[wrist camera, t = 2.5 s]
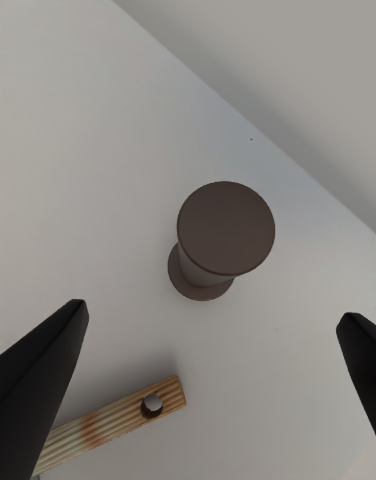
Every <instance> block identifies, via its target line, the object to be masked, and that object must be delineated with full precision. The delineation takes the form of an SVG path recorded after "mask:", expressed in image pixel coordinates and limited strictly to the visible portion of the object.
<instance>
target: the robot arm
mask: <svg viewBox="0 0 376 480" xmlns="http://www.w3.org/2000/svg"><path fill="white" fill-rule="evenodd" d="M88 322H89V314H88V310H87V306H86V302H85V300H83V299H72V300H70V301H69V302H67V303H66V304H65V305H64V306H62V307H61V308H60V309H58V310H57V311H56V312H55V313H53V314H52V315H51V316H49V317H48V318H47V319H46V320H44V321H43V322H42V323H41V324H39V325H38V326H37V327H35V328H34V329H33V330H32V331H30V332H29V333H28V334H27V335H25V336H24V337H23V338H21V339H20V340H19V341H18V342H16V343H15V344H14V345H12V346H11V347H10V348H9V349H7V350H6V351H5V352H4V353H2V354H1V355H0V480H30V479H31V476H32V474H33V471H34V469H35V466H36V464H37V461H38V459H39V456H40V454H41V451H42V449H43V446H44V444H45V441H46V439H47V437H48V434H49V432H50V429H51V427H52V424H53V422H54V419H55V417H56V414H57V412H58V409H59V407H60V404H61V402H62V399H63V397H64V394H65V392H66V389H67V387H68V384H69V382H70V380H71V377H72V375H73V372H74V369H75V367H76V364H77V360H78V357H79V354H80V350H81V347H82V343H83V340H84V336H85V333H86V329H87V326H88ZM336 334H337V338H338V341H339V344H340V347H341V350H342V353H343V356H344V359H345V362H346V365H347V368H348V371H349V374H350V377H351V379H352V382H353V384H354V387H355V389H356V391H357V394H358V396H359V398H360V400H361V403H362V405H363V407H364V410H365V412H366V414H367V416H368V419H369V421H370V423H371V426H372V428H373V430H374V432H375V435H376V325H375V324H374V323H372V322H371V321H370V320H368V319H367V318H365V317H364V316H363V315H361V314H359V313H352V312H347V313H345V314H344V315H343V317H342V318H341V320H340V322H339V324H338V325H337V327H336Z"/></svg>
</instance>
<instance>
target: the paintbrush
mask: <svg viewBox="0 0 376 480" xmlns="http://www.w3.org/2000/svg"><path fill="white" fill-rule="evenodd" d="M150 394H153V395H156V396H158V397H159V398H160V400H161V401H162V403H163V404H162V407H160V408H159V409H158V410H156V411H150V409H148V408H147V407H146V405H145V403H144V398H145V397H146V396H147V395H150ZM185 406H186V399H185V396H184V393H183V389H182V386H181V383H180V380H179V378H178V376H177V375H173V376H171V377H169V378H166V379H164V380H162V381H160V382H158V383H155V384H153V385H151V386H149V387H147V388H144V389H142V390H140V391H138V392H136V393H133V394H131V395H129V396H127V397H125V398H122V399H120V400H118V401H116V402H114V403H111V404H109V405H107V406H105V407H103V408H101V409H98V410H96V411H94V412H92V413H90V414H88V415H85V416H83V417H81V418H79V419H76V420H74V421H72V422H70V423H67V424H65V425H63V426H61V427H58V428H56V429H54V430H52V431H50V432H49V434H48V437H47V439H46V441H45V444H44V446H43V449H42V451H41V454H40V456H39V459H38V461H37V464H36V466H35V469H34V471H33V474H32V476H31V479H30V480H39V477H38V474H40V473H42V472H44V471H46V470H48V469H50V468H52V467H55V466H57V465H59V464H61V463H63V462H65V461H67V460H69V459H71V458H74V457H76V456H78V455H80V454H82V453H84V452H86V451H88V450H90V449H93V448H95V447H97V446H99V445H101V444H103V443H106V442H108V441H110V440H112V439H114V438H117V437H119V436H121V435H123V434H125V433H128V432H130V431H132V430H134V429H136V428H139V427H141V426H143V425H145V424H147V423H150V422H152V421H154V420H156V419H158V418H161V417H163V416H165V415H167V414H169V413H172V412H174V411H176V410H178V409H180V408H183V407H185Z"/></svg>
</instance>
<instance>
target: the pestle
mask: <svg viewBox="0 0 376 480" xmlns="http://www.w3.org/2000/svg"><path fill="white" fill-rule="evenodd" d="M177 238H178V242H177V243H176V245H175V246H174V247H173V249H172V251H171V253H170V255H169V259H168V274H169V277H170V280H171V282H172V284H173V285H174V287H175V288H176V289H177V290H178V291H179V292H180V293H181V294H182V295H183V296H185V297H187V298H189V299H193V300H197V301H208V300H212V299H215V298H217V297H219V296H221V295H222V294H224V293H225V292H226V291H227V290H228V289H229V287H230V286H231V284H232V283H233V280H234V278H235V277H237V276H240V275H243V274H245V273H248V272H250V271H252V270H253V269H255V268H256V267H258V266H259V265H260V264H261V263H262V262H263V261H264V260H265V259H266V257H267V256H268V255H269V253H270V251H271V249H272V246H273V243H274V239H275V224H274V218H273V215H272V213H271V210H270V208H269V207H268V205H267V203H266V202H265V201H264V200H263V198H262V197H261V196H260V195H259V194H258V193H256V192H255V191H254V190H252V189H250V188H249V187H247V186H244V185H242V184H239V183H235V182H229V181H221V182H214V183H210V184H207V185H204V186H202V187H200V188H198V189H197V190H196V191H194V192H193V193H192V194H191V195H190V196H189V197H188V198H187V199H186V200H185V202H184V203H183V205H182V207H181V209H180V211H179V214H178V219H177Z"/></svg>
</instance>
